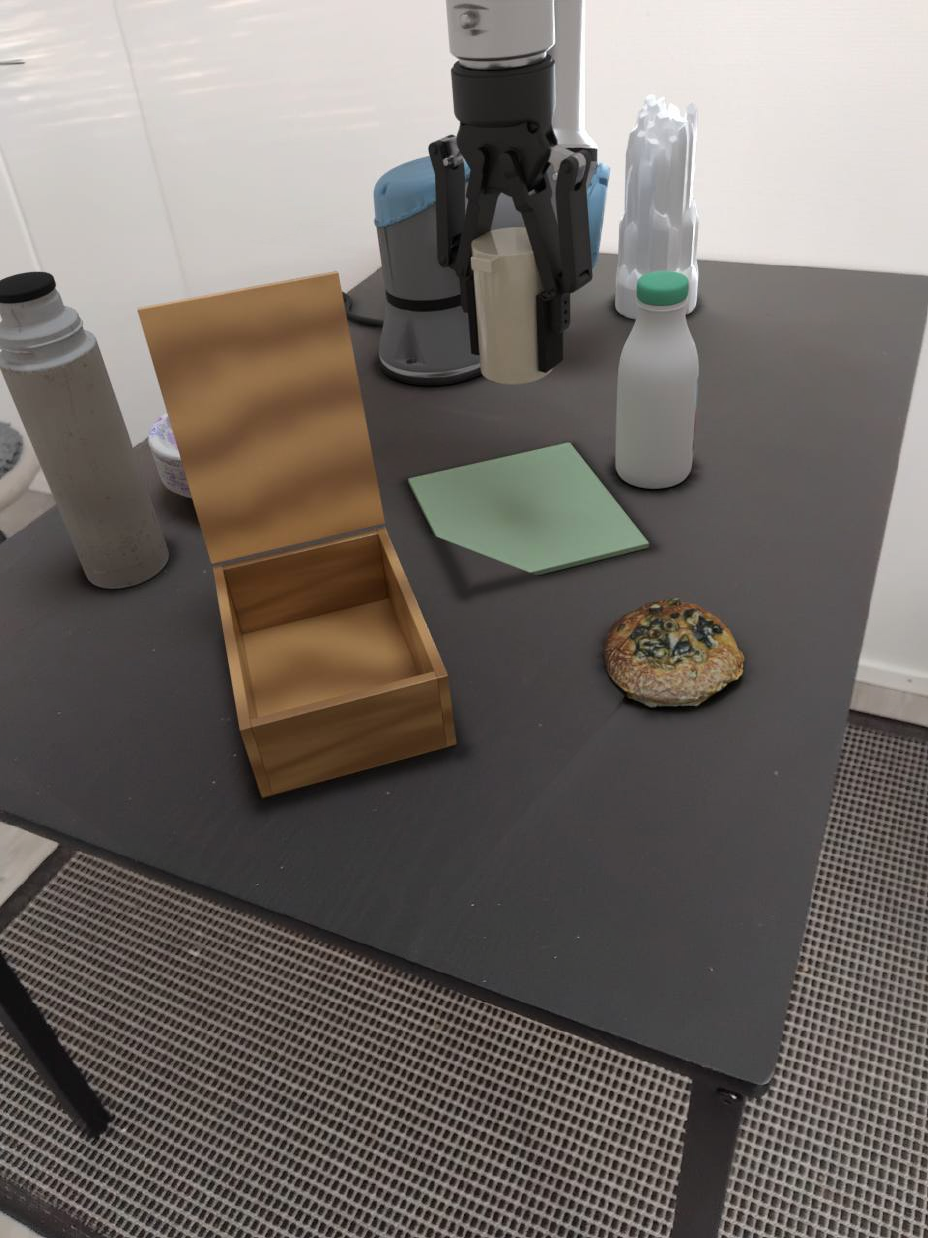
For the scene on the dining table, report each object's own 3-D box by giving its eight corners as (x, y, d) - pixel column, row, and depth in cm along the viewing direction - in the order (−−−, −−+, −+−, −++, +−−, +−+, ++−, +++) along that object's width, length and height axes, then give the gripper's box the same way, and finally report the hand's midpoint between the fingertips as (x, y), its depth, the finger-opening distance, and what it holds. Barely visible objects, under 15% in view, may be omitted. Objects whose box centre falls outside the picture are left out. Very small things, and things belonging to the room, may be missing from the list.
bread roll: (632, 602, 84) (641, 559, 80) (756, 652, 80) (771, 609, 77) (575, 687, 77) (582, 644, 74) (708, 746, 74) (722, 704, 70)
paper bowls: (179, 456, 110) (159, 392, 105) (313, 442, 110) (300, 377, 105) (156, 533, 99) (133, 465, 94) (306, 517, 99) (291, 448, 94)
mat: (408, 483, 102) (407, 478, 102) (569, 446, 105) (569, 441, 105) (462, 594, 87) (462, 589, 87) (648, 548, 90) (649, 542, 90)
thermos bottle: (117, 535, 99) (13, 259, 81) (184, 545, 97) (92, 263, 79) (69, 582, 93) (-55, 297, 75) (139, 594, 91) (29, 303, 73)
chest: (457, 751, 73) (448, 675, 68) (264, 805, 71) (239, 730, 66) (396, 597, 88) (384, 526, 83) (234, 637, 85) (212, 566, 80)
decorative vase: (702, 318, 127) (718, 107, 111) (619, 323, 128) (624, 114, 112) (688, 286, 136) (702, 85, 120) (610, 291, 136) (614, 92, 120)
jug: (520, 395, 82) (514, 264, 74) (459, 378, 85) (448, 251, 78) (579, 351, 87) (579, 225, 80) (520, 337, 90) (515, 214, 83)
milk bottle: (690, 492, 97) (706, 295, 84) (611, 489, 98) (615, 295, 85) (692, 452, 102) (707, 262, 90) (618, 450, 104) (622, 262, 91)
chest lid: (338, 272, 72) (328, 261, 76) (137, 309, 69) (138, 296, 74) (385, 523, 82) (373, 501, 86) (211, 564, 80) (208, 539, 84)
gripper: (366, 60, 73) (403, 351, 88) (590, 76, 63) (589, 400, 78) (429, 39, 77) (454, 319, 92) (648, 51, 67) (636, 363, 82)
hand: (516, 356), depth 85 cm, fingers closed on jug, 6 cm apart
